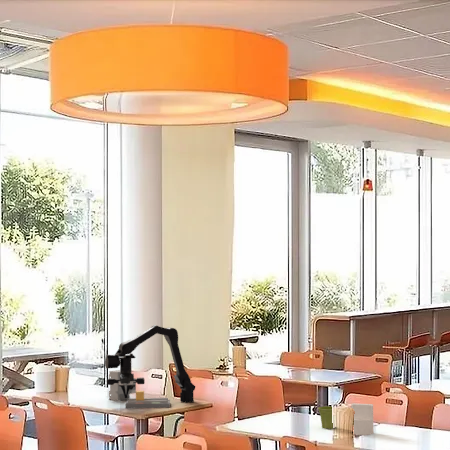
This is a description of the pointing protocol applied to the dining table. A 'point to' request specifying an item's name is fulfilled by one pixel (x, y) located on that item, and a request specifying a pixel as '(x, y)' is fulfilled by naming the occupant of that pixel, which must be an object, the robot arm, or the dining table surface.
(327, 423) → the plant pot
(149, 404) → the panel
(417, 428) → the dining table surface
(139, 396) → the toggle
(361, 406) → the grey upright block
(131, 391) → the circuit breaker
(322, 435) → the dining table surface
